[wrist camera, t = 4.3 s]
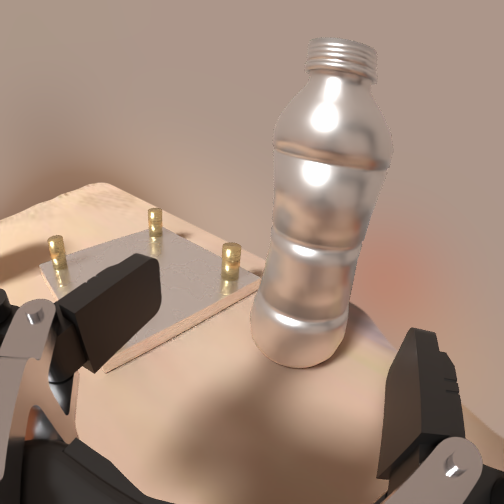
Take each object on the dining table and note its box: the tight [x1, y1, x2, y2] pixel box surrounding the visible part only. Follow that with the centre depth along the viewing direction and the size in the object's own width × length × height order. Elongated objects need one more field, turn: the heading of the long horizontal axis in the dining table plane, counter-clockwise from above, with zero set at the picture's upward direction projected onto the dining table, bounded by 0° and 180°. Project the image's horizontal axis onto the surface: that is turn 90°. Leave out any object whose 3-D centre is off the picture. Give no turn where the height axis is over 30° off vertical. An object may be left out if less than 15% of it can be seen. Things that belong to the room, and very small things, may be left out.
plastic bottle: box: [250, 38, 393, 368], centre depth 17 cm, size 6×7×20 cm
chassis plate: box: [39, 208, 261, 373], centre depth 26 cm, size 16×16×4 cm
